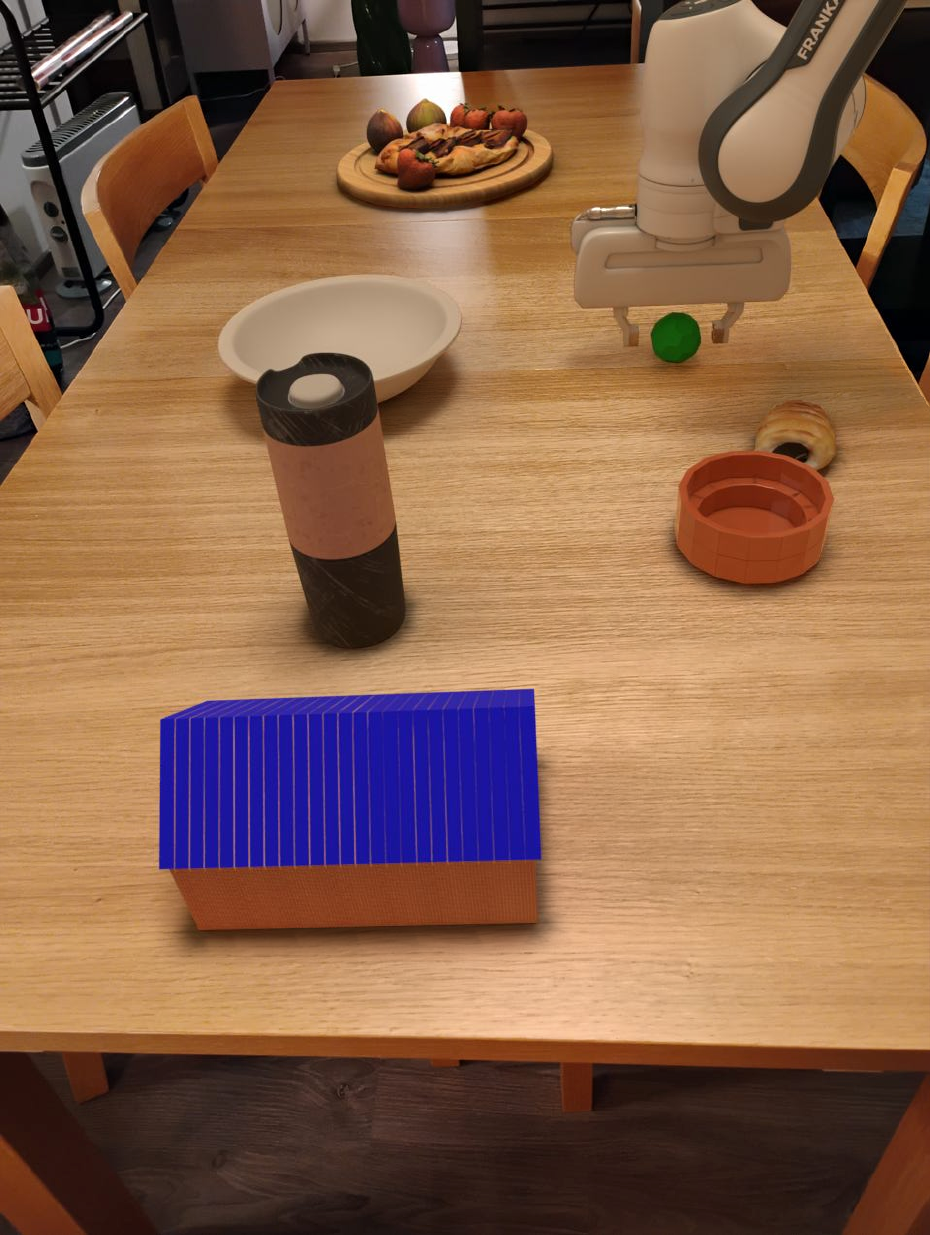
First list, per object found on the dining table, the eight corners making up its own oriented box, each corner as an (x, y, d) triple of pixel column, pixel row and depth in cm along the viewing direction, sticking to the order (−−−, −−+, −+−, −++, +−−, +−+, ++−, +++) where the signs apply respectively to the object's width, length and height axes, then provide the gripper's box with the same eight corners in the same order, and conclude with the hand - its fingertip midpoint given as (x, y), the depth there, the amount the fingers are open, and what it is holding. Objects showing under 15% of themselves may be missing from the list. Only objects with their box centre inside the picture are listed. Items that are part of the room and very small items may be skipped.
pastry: (762, 414, 92) (767, 377, 90) (838, 423, 90) (846, 385, 88) (748, 470, 86) (754, 432, 83) (830, 481, 84) (839, 442, 81)
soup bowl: (263, 476, 91) (247, 413, 86) (211, 364, 107) (196, 306, 103) (504, 409, 96) (500, 346, 92) (419, 313, 113) (413, 256, 109)
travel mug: (397, 654, 72) (358, 413, 59) (297, 648, 73) (235, 411, 60) (418, 585, 78) (385, 351, 64) (324, 580, 79) (273, 350, 65)
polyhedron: (684, 344, 103) (688, 300, 100) (708, 365, 100) (712, 320, 96) (640, 354, 102) (643, 310, 99) (662, 376, 99) (665, 331, 95)
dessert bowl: (806, 499, 82) (816, 448, 79) (835, 588, 74) (847, 535, 71) (669, 502, 83) (673, 452, 80) (682, 590, 75) (687, 538, 72)
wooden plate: (482, 226, 130) (478, 161, 125) (293, 196, 144) (282, 135, 138) (591, 149, 150) (591, 89, 144) (415, 128, 163) (410, 73, 158)
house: (232, 769, 65) (185, 641, 57) (536, 759, 64) (531, 627, 56) (191, 935, 57) (130, 811, 49) (544, 927, 55) (539, 799, 47)
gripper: (570, 221, 89) (570, 361, 98) (805, 209, 87) (783, 354, 96) (569, 195, 93) (569, 331, 103) (792, 184, 92) (772, 324, 101)
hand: (674, 342), depth 99 cm, fingers open, 7 cm apart
